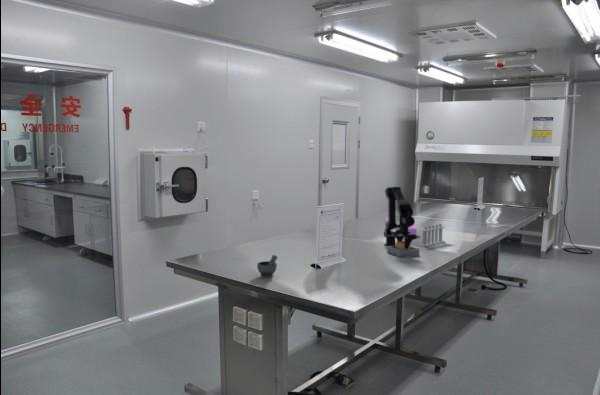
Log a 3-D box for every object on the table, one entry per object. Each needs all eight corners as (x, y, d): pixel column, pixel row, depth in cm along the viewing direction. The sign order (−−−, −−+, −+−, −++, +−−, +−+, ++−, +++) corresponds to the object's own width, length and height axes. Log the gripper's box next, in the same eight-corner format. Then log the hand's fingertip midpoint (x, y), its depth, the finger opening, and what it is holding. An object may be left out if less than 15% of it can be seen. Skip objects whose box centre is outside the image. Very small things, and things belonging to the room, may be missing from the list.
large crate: (387, 252, 293) (387, 246, 292) (405, 250, 298) (405, 244, 297) (400, 257, 280) (400, 250, 279) (419, 255, 285) (419, 249, 285)
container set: (419, 235, 352) (420, 217, 350) (412, 238, 339) (412, 220, 338) (388, 231, 366) (389, 215, 364) (380, 234, 353) (381, 217, 352)
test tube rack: (424, 247, 309) (425, 227, 308) (419, 246, 313) (419, 226, 311) (445, 242, 326) (446, 223, 324) (439, 241, 329) (440, 222, 328)
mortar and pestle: (253, 277, 235) (253, 254, 233) (265, 273, 242) (265, 250, 241) (270, 281, 228) (270, 257, 227) (282, 276, 236) (282, 253, 235)
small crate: (395, 249, 290) (395, 241, 290) (404, 248, 293) (404, 240, 292) (401, 251, 284) (401, 243, 284) (410, 250, 287) (410, 242, 286)
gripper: (384, 221, 292) (383, 246, 294) (401, 226, 275) (400, 252, 277) (399, 220, 296) (398, 244, 298) (417, 225, 279) (416, 250, 281)
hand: (403, 248), depth 288 cm, fingers closed on small crate, 6 cm apart
